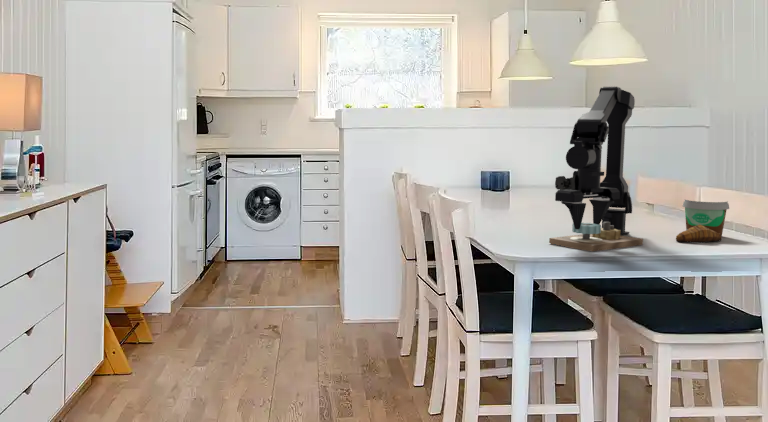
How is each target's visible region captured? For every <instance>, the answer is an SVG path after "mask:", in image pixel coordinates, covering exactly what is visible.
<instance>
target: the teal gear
mask: <svg viewBox="0 0 768 422" xmlns="http://www.w3.org/2000/svg"><path fill="white" fill-rule="evenodd" d="M583 224H590V225H583ZM571 228H572V230H571V231H572V233H575V234H598V233H601V228H602V224H601V223H600V224H595V223H591V222H582V223H581V226H580V229H575V227H574V223H573V222H572V227H571Z"/></svg>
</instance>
